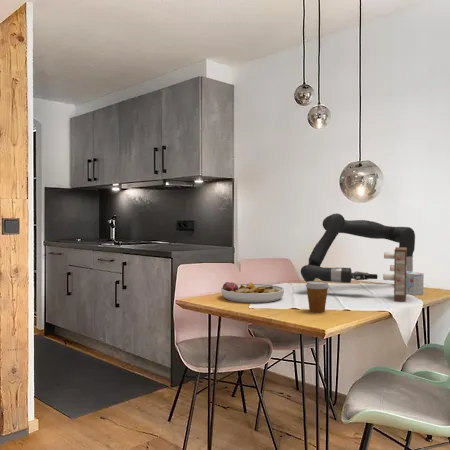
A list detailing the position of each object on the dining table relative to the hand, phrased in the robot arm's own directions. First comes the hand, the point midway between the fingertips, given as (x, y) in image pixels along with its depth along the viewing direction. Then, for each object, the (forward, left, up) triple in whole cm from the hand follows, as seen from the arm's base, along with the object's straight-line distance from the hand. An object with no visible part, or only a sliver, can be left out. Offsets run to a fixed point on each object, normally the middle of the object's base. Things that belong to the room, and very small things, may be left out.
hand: (377, 276), depth 236 cm
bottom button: (0, +6, -1) cm, 7 cm away
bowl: (+25, -56, -11) cm, 62 cm away
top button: (-5, +6, +9) cm, 12 cm away
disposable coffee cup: (+44, -21, -10) cm, 50 cm away
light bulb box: (-18, +15, -10) cm, 26 cm away
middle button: (+5, +10, +4) cm, 11 cm away
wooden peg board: (0, +11, -10) cm, 15 cm away
